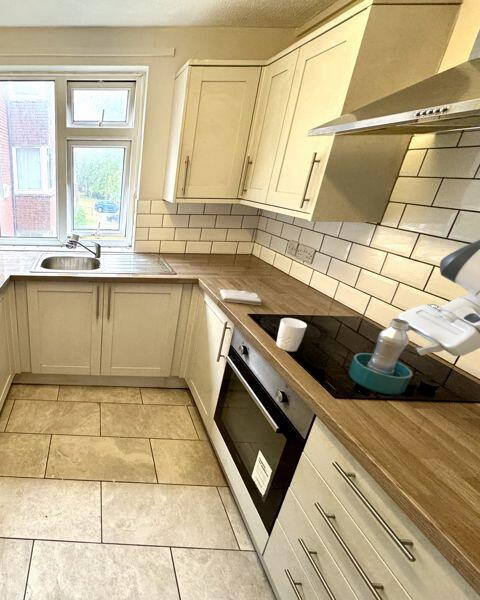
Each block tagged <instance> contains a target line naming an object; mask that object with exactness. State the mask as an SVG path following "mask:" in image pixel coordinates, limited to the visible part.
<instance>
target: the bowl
mask: <svg viewBox="0 0 480 600" xmlns="http://www.w3.org/2000/svg"><path fill="white" fill-rule="evenodd" d="M373 354H374V353H369V352H360V353H356V354H355V355H354V356H353V358H352V360H351V363H350V364H349V368H348V372H347V373H348V376H349V377H350V378H351V379H352V380H353V382H355V383H357V384H359V385H360V386H362V387H364V388H366V389H368V390H371V391H373V392H377V393H380V394H385V395H401V394H402V393H404V392H405V391H406V389H407V388H408V385H409V383H410V382H411V380H412V377H413V375H414V374H413V371H412V370H411V369H410V368H409V367H408V366H406V365H405V364H403V363H401V362H399V361H398V360H397V361H396V365H395V368H394V373H393V376H388V375H385V374H381V373H378V372H376V371H373V370H371V369H369V368H367V367H365V366H366V365H367V363H368V362H369V361H370V359H371V358H372V356H373Z"/></svg>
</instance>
